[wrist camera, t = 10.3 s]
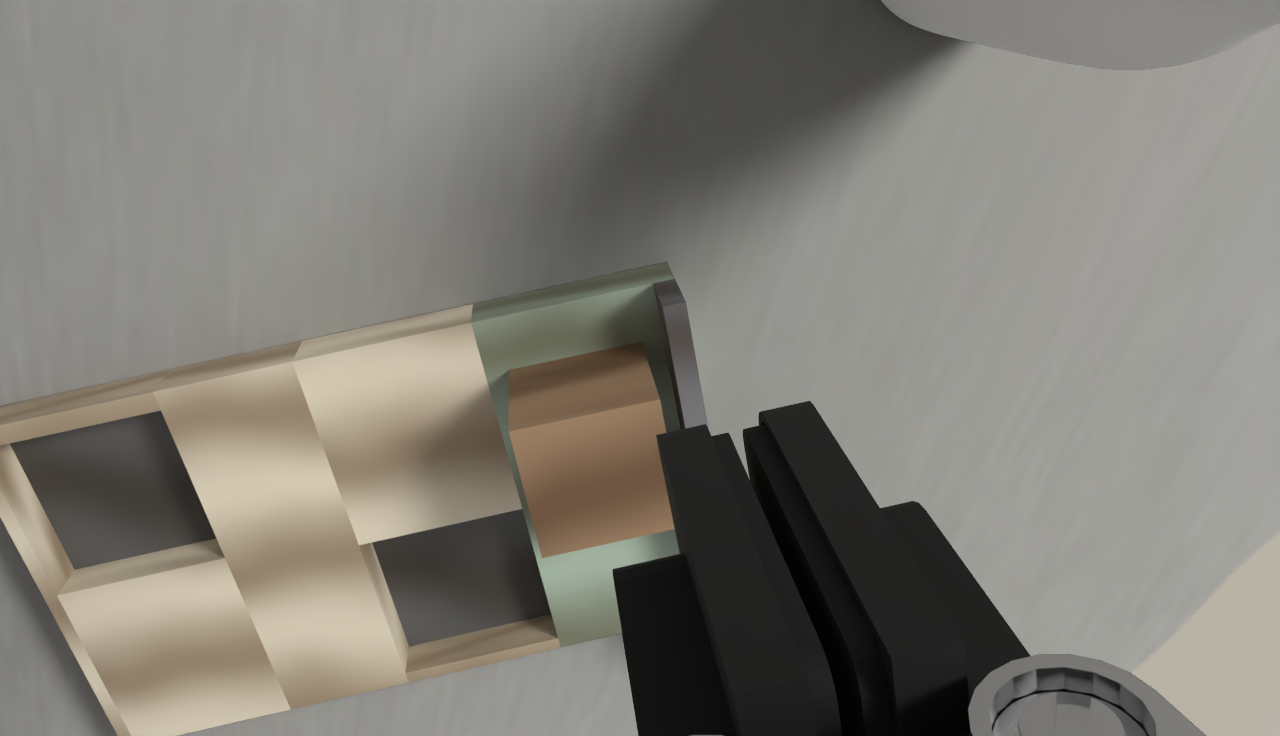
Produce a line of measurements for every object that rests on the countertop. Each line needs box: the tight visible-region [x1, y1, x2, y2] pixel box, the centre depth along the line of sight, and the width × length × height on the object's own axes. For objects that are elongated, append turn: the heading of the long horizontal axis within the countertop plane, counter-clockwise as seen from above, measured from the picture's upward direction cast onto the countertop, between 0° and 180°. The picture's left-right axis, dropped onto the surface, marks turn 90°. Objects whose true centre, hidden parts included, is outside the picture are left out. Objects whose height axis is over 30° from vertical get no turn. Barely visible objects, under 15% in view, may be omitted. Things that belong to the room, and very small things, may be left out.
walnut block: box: [509, 342, 675, 558], centre depth 36 cm, size 5×5×5 cm
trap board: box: [0, 262, 708, 736], centre depth 39 cm, size 15×26×4 cm, turn 102°
